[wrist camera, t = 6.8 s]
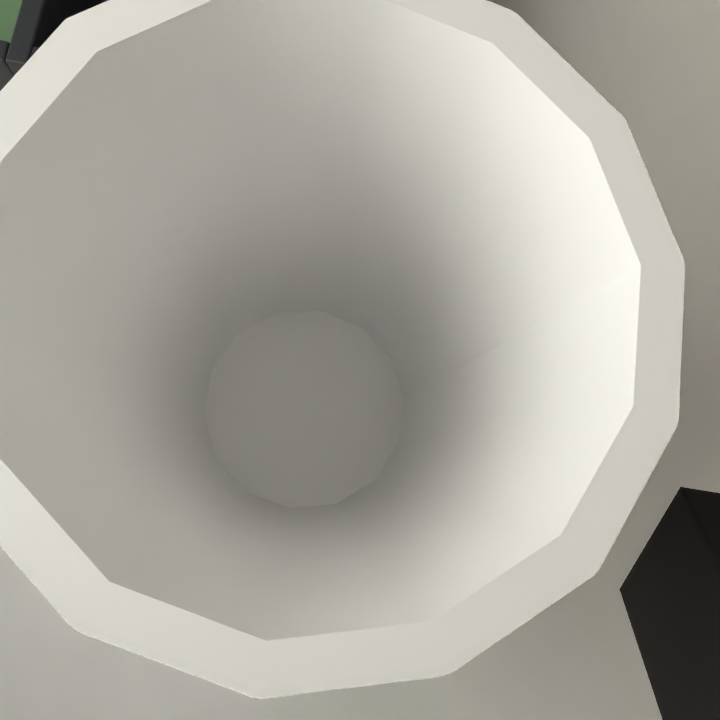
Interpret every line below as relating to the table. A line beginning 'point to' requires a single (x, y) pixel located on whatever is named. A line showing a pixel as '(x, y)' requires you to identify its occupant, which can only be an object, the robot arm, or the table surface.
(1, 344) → the foam cup
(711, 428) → the table surface
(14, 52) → the organizer
